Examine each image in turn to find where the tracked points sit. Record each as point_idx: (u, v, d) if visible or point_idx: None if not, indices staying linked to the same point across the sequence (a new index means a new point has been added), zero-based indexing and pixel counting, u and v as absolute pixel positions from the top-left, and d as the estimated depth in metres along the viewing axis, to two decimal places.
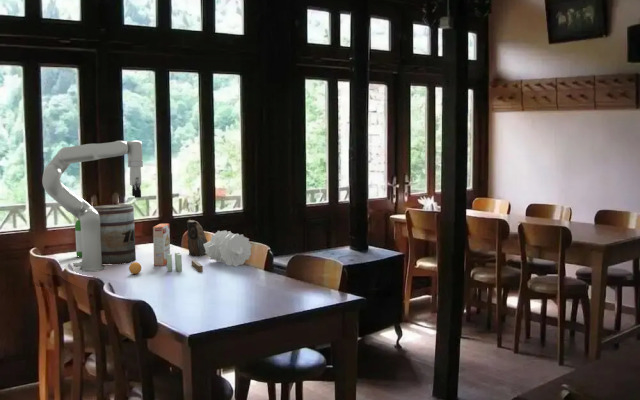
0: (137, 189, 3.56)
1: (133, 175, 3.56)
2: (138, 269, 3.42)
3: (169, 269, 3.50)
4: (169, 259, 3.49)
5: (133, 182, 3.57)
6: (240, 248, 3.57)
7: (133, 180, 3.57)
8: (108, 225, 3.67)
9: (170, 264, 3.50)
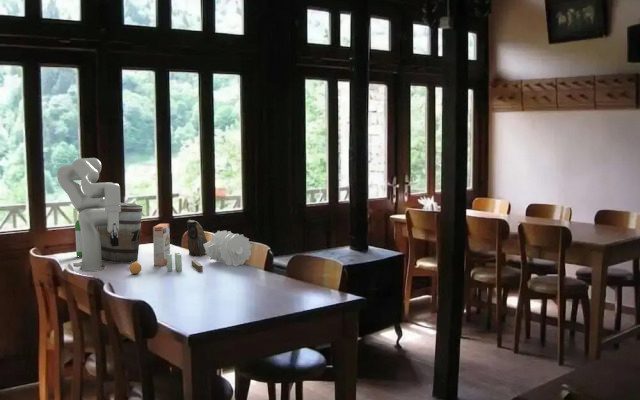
0: (114, 237, 3.34)
1: (110, 221, 3.33)
2: (138, 269, 3.42)
3: (169, 269, 3.50)
4: (169, 259, 3.49)
5: (110, 228, 3.33)
6: (240, 248, 3.57)
7: (110, 226, 3.33)
8: (119, 222, 3.67)
9: (170, 264, 3.50)
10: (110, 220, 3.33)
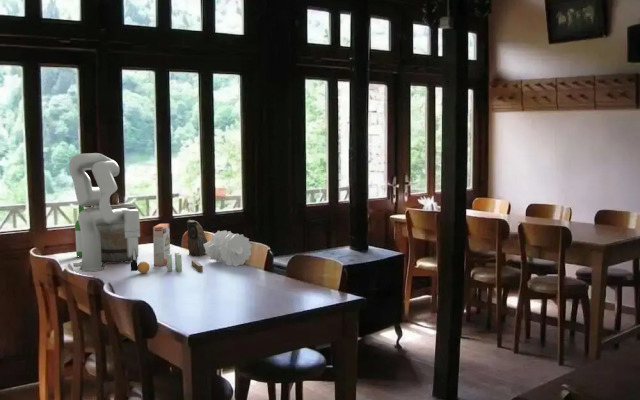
0: (133, 262, 3.41)
1: (129, 246, 3.37)
2: (144, 271, 3.43)
3: (169, 269, 3.50)
4: (169, 259, 3.49)
5: (130, 254, 3.38)
6: (240, 248, 3.57)
7: (130, 252, 3.37)
8: None
9: (170, 264, 3.50)
10: (129, 246, 3.37)
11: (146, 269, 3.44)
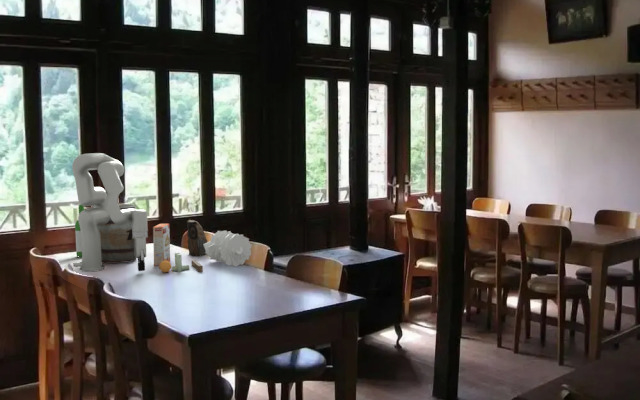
0: (140, 262, 3.43)
1: (138, 247, 3.39)
2: (165, 267, 3.45)
3: (174, 268, 3.51)
4: (184, 268, 3.53)
5: (138, 254, 3.39)
6: (240, 248, 3.57)
7: (138, 252, 3.39)
8: (113, 222, 3.67)
9: None
10: (138, 246, 3.39)
11: (163, 268, 3.45)
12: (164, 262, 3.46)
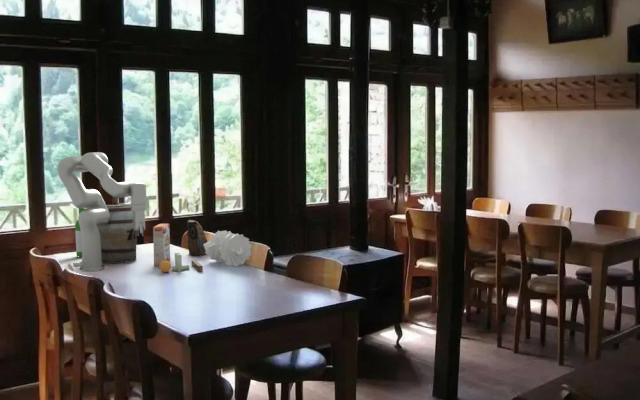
0: (139, 235, 3.42)
1: (137, 219, 3.38)
2: (165, 267, 3.45)
3: (174, 268, 3.51)
4: (184, 268, 3.53)
5: (136, 227, 3.38)
6: (240, 248, 3.57)
7: (136, 225, 3.38)
8: (113, 222, 3.67)
9: None
10: (136, 218, 3.38)
11: (163, 268, 3.45)
12: (164, 262, 3.46)
